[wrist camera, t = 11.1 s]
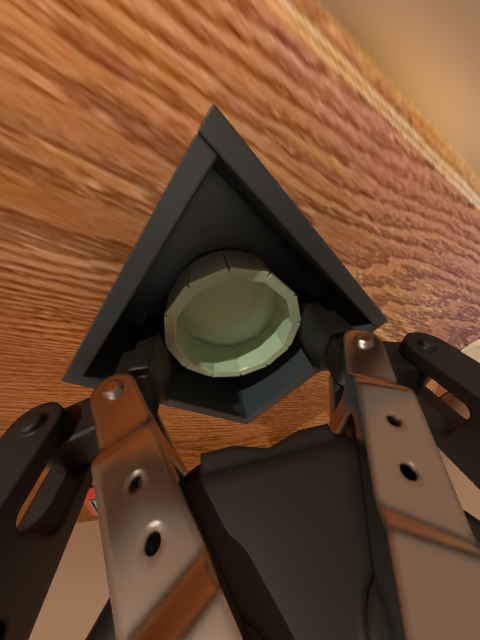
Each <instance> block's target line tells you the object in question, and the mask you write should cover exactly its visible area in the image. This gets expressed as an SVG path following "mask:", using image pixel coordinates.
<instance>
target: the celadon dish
mask: <svg viewBox="0 0 480 640" xmlns="http://www.w3.org/2000/svg"><path fill="white" fill-rule="evenodd" d="M300 321H301V317H300V311H299V305H298V299H297V295H296V294H295V292H294V291H293V290H292V288H291V287H290V286H289V285H288V284H287V283H286V282H285V280H284V279H283V278H282V277H281V276H280V275H279V274H278V273H277V272H276V271H275V270H273V269H272V268H271V267H270V265H269V264H268V263H266V262H265V261H264V260H262V259H261V258H259V257H257V256H255V255H253V254H250V253H247V252H243V251H237V250H223V251H217V252H213V253H210V254H207V255H204V256H202V257H200V258H198V259H196V260H195V261H193V262H192V263H191V264H189V265H188V266H187V267H186V268H185V269H184V270H183V271H182V272H181V274H180V275H179V276H178V278H177V280H176V281H175V283H174V286H173V288H172V289H171V291H170V294H169V297H168V301H167V305H166V310H165V314H164V334H165V344H166V345H167V349H168V350H169V351H170V352H171V353H172V354H173V356H174V357H175V358H176V359H177V360H178V361H179V362H180V364H181V365H182V366H185V368H187V369H190V370H192V371H195V372H198V373H201V374H204V375H206V376H209V377H210V376H212V377H232V376H240V374H241V375H242V376H243V375H245V374H248V373H251V372H253V371H256V370H259V369H261V368H264V367H266V366H267V364H268V365H270V364H271V363H272V362H273V361H274V360H276V359H277V358H278V357H279V356H280V355H281V354H283V353H284V352H285V351H286V350H287V349H288V348H289V347H288V346H291V344H292V342H293V339H294V337H295V335H296V333H297V331H298V328H299V326H300Z"/></svg>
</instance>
